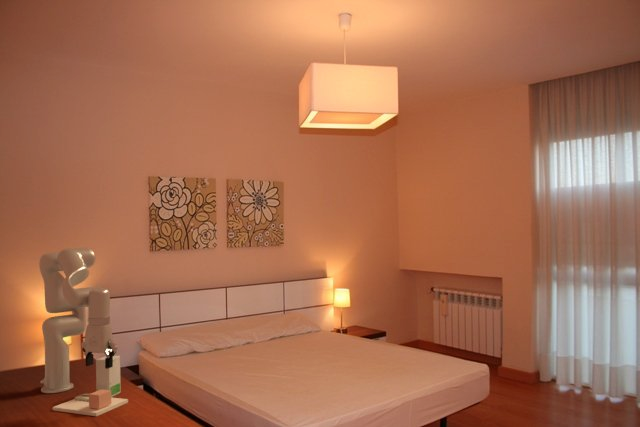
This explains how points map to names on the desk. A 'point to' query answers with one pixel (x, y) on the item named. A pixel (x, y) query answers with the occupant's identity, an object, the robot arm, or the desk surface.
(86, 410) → the ticket board
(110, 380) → the skincare box
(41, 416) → the desk surface
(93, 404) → the stub
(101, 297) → the robot arm
